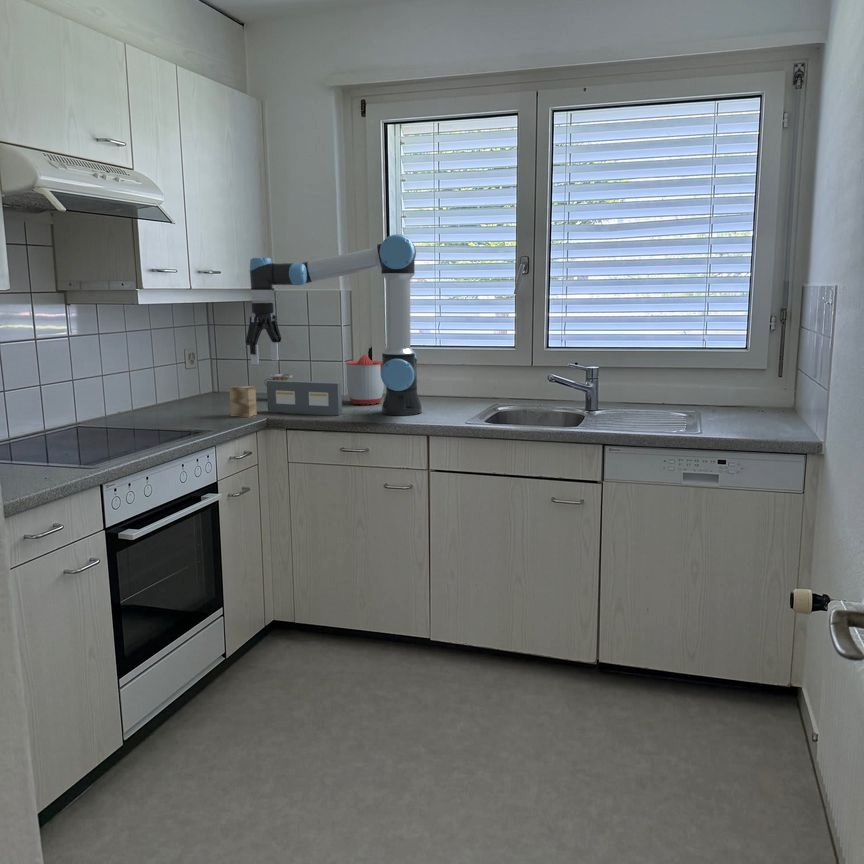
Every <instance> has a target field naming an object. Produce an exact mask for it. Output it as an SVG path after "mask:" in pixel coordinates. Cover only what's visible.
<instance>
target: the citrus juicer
mask: <svg viewBox="0 0 864 864" xmlns="http://www.w3.org/2000/svg"><path fill="white" fill-rule="evenodd" d="M345 365H346V387H347V389H346V390H347V392H348V397H349V400H350V402H351V404H353V405H354V404H360V405H364V406H365V404H366V405H369V404H374V405H376V403H377V404H380V403H381V401H382V397H383V394H384V387H385V384H384V383H383V381H382V379H381V369H382V360H371V359H370V357H369V356H368V355H367V354H363V355H362V356H361V357H360V359H358V360H351V361H350V360H349V361H346V362H345ZM379 402H380V403H379Z"/></svg>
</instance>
